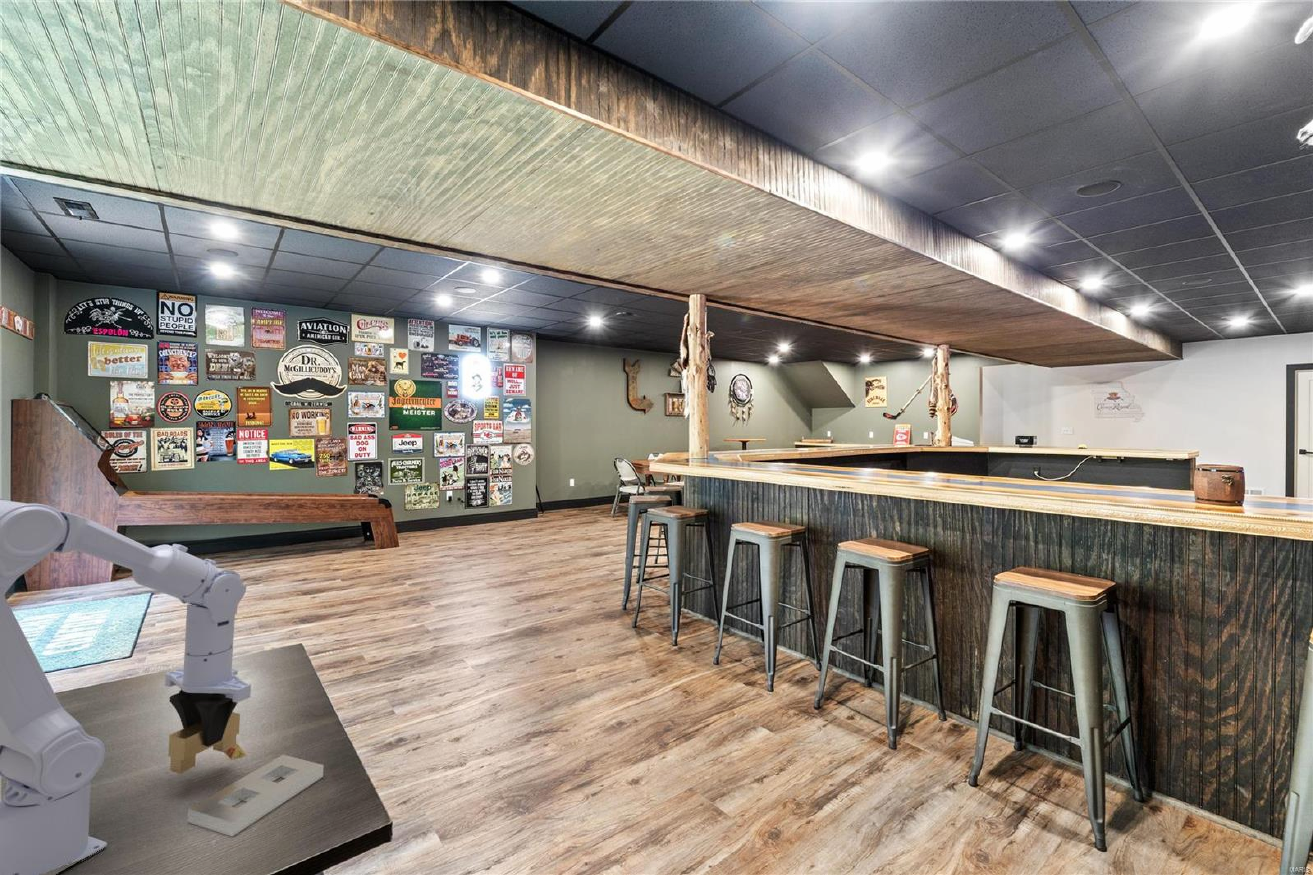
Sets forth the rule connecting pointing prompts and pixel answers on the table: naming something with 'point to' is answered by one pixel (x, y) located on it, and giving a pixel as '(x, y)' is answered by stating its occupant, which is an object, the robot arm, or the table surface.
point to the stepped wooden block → (198, 743)
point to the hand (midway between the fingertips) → (204, 740)
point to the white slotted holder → (254, 795)
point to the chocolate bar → (234, 752)
